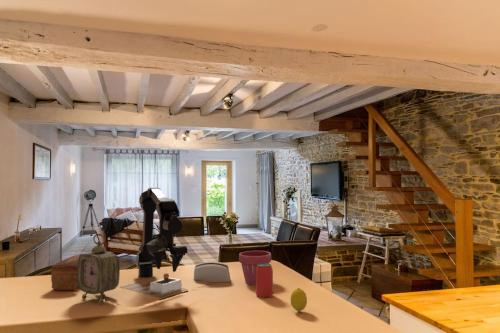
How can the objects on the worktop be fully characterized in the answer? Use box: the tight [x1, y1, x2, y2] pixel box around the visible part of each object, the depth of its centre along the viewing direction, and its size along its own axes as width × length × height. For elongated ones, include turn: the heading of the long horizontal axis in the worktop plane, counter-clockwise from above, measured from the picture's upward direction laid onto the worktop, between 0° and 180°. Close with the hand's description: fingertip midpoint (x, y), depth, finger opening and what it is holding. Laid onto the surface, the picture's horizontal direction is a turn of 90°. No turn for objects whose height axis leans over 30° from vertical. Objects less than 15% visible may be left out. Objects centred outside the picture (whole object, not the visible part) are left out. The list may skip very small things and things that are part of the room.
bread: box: [50, 253, 82, 291], centre depth 167 cm, size 14×28×12 cm, turn 176°
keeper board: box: [119, 272, 189, 301], centre depth 154 cm, size 26×14×8 cm, turn 54°
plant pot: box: [238, 250, 272, 285], centre depth 167 cm, size 14×14×13 cm
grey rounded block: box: [193, 261, 231, 283], centre depth 169 cm, size 17×5×10 cm, turn 89°
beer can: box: [255, 263, 274, 299], centre depth 146 cm, size 7×7×12 cm
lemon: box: [290, 287, 308, 313], centre depth 127 cm, size 6×6×8 cm
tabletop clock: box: [78, 233, 121, 305], centre depth 143 cm, size 14×9×25 cm, turn 56°
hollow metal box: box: [150, 276, 182, 296], centre depth 149 cm, size 7×10×4 cm
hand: (166, 270), depth 150 cm, fingers open, 9 cm apart
